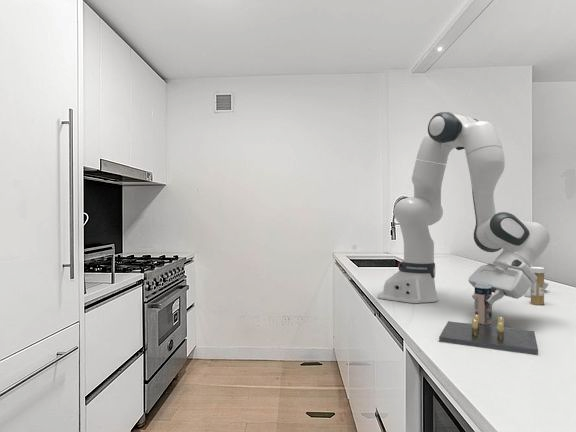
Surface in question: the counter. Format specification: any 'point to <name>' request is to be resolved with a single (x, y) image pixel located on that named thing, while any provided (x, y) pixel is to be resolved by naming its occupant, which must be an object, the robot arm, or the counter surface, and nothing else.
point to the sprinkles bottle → (537, 286)
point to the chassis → (490, 336)
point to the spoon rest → (529, 290)
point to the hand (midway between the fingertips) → (481, 300)
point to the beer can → (483, 303)
